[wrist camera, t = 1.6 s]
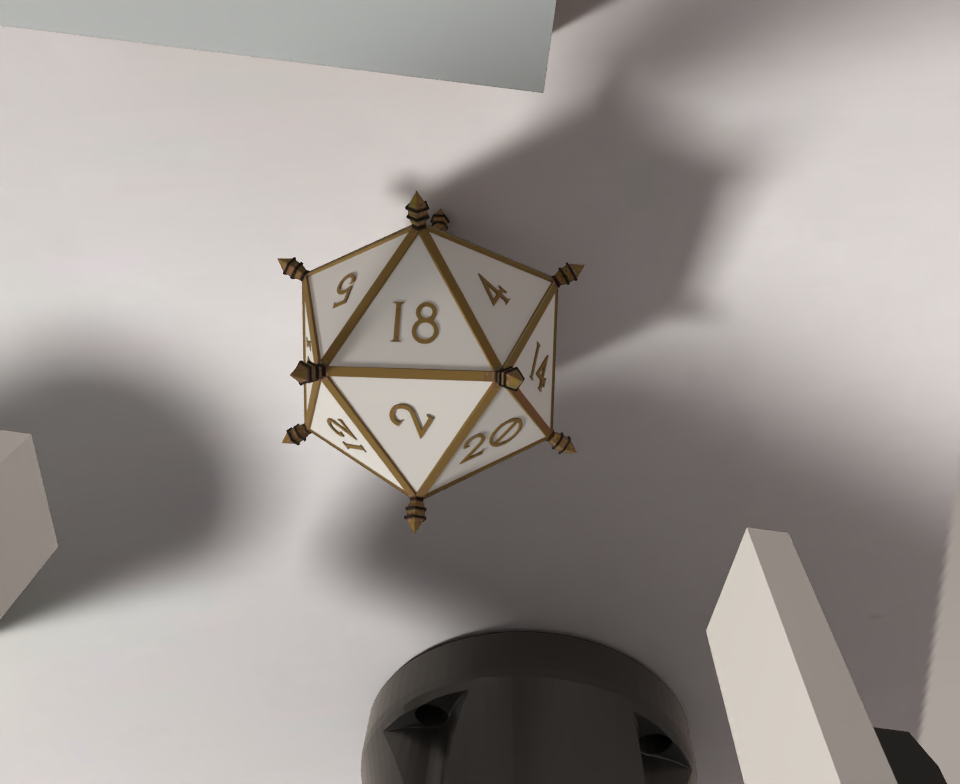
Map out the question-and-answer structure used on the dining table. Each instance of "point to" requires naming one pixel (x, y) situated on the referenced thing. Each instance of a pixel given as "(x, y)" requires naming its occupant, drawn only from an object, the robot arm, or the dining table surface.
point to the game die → (428, 357)
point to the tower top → (327, 32)
